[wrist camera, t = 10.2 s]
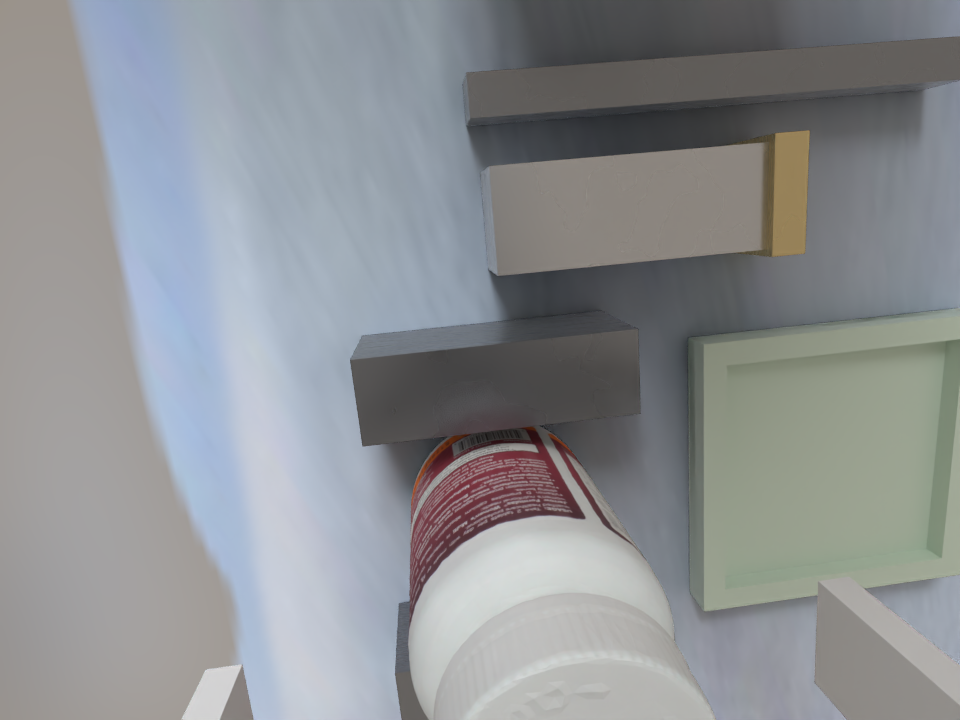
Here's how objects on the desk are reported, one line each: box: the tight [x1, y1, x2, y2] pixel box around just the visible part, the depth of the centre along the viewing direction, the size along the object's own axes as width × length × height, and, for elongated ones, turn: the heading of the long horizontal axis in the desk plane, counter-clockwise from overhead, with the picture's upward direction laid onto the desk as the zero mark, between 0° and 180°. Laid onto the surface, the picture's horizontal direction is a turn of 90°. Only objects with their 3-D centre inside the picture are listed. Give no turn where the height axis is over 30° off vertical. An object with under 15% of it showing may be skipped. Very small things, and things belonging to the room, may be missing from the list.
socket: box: [350, 311, 641, 720], centre depth 20 cm, size 12×8×4 cm, turn 5°
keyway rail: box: [463, 36, 960, 126], centre depth 18 cm, size 1×15×2 cm, turn 95°
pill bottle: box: [408, 426, 716, 720], centre depth 16 cm, size 6×6×11 cm
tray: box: [688, 308, 960, 612], centre depth 22 cm, size 10×10×1 cm
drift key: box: [480, 130, 810, 276], centre depth 18 cm, size 3×9×3 cm, turn 95°
